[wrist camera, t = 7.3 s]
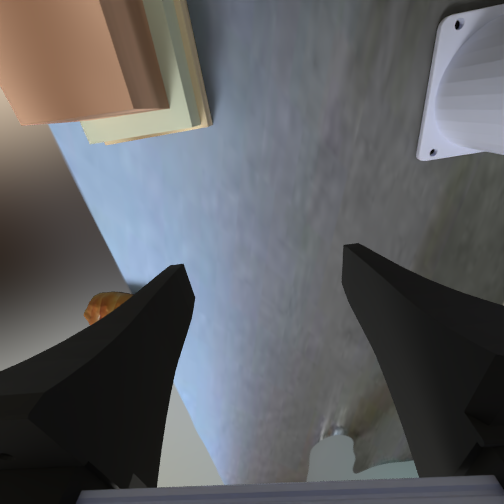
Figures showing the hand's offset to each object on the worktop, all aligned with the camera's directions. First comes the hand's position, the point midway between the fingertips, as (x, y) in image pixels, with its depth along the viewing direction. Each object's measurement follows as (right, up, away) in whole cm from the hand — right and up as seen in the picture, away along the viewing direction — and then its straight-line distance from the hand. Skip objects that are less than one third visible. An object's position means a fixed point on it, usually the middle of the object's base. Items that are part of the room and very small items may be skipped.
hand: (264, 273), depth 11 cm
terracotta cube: (-7, +10, +1) cm, 13 cm away
